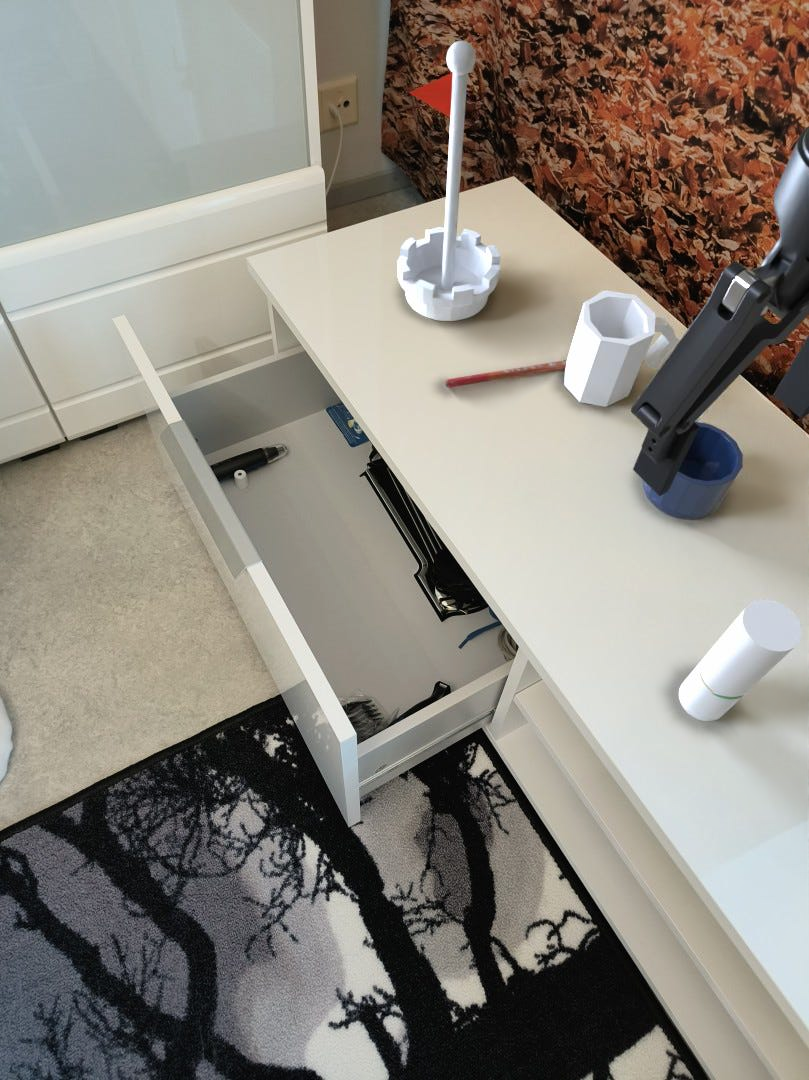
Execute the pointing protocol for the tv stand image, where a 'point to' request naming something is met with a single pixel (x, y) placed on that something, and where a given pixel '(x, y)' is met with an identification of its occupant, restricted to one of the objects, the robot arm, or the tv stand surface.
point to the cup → (701, 475)
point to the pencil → (506, 374)
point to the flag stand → (449, 220)
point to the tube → (740, 659)
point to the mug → (614, 347)
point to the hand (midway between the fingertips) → (722, 441)
